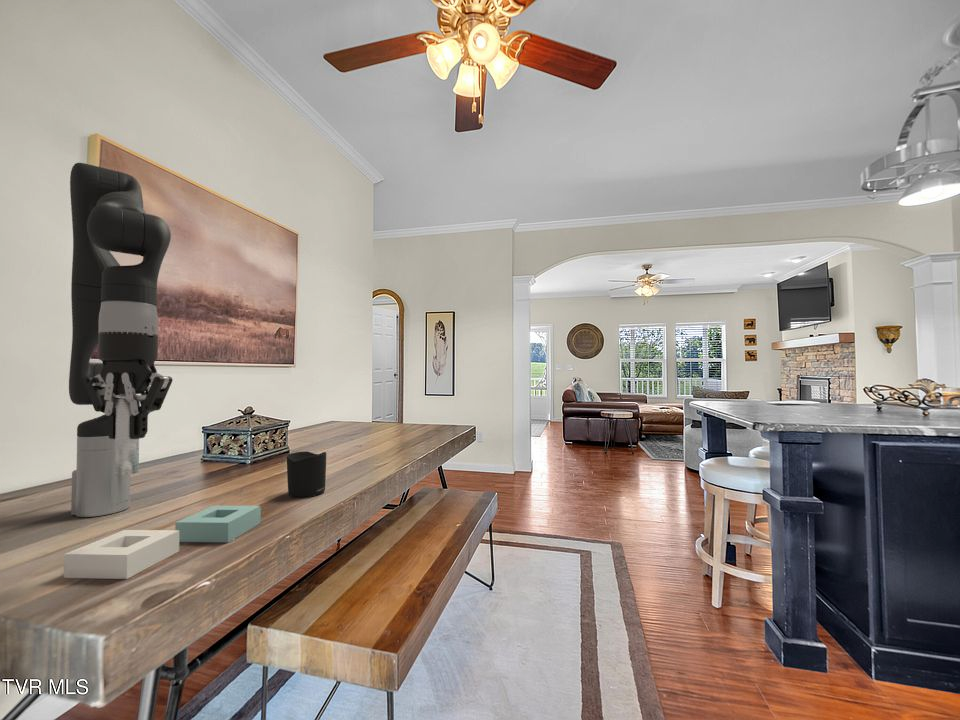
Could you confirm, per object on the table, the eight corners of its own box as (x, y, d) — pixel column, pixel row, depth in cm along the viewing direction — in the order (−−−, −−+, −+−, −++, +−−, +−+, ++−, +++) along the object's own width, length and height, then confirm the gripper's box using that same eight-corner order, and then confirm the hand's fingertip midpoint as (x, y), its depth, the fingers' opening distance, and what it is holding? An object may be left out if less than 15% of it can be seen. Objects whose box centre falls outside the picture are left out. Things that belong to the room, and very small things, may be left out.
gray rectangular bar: (109, 475, 67) (110, 399, 68) (126, 471, 70) (127, 398, 71) (127, 475, 67) (128, 399, 68) (143, 471, 70) (144, 398, 71)
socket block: (63, 577, 64) (64, 554, 64) (124, 550, 74) (124, 529, 74) (126, 578, 63) (127, 554, 63) (179, 551, 73) (179, 530, 73)
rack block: (175, 541, 77) (175, 522, 77) (213, 522, 87) (213, 505, 87) (228, 542, 76) (228, 522, 77) (260, 523, 86) (260, 505, 87)
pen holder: (291, 501, 102) (291, 459, 102) (282, 492, 109) (282, 453, 110) (331, 494, 107) (331, 454, 108) (320, 486, 115) (320, 449, 115)
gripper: (65, 330, 66) (62, 442, 66) (150, 328, 65) (148, 442, 65) (110, 335, 74) (108, 435, 73) (187, 333, 73) (186, 435, 72)
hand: (127, 437), depth 69 cm, fingers closed on gray rectangular bar, 3 cm apart
